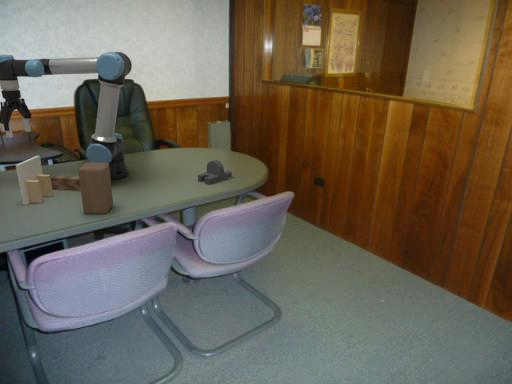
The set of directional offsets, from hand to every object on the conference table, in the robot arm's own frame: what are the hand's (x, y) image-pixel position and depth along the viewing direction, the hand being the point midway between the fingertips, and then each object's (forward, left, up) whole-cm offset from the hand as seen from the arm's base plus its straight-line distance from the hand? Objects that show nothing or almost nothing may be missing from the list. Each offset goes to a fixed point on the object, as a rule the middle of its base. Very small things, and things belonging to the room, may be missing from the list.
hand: (19, 134), depth 185 cm
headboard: (-20, +22, -24) cm, 38 cm away
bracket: (-93, -19, -25) cm, 98 cm away
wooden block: (-50, +30, -24) cm, 63 cm away
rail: (-25, +8, -24) cm, 36 cm away
